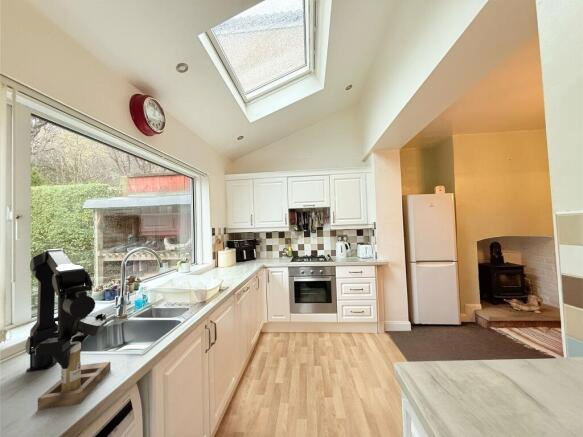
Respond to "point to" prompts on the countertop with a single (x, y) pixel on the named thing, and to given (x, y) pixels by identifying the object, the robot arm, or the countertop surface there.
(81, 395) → the socket block
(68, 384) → the sprinkles bottle
